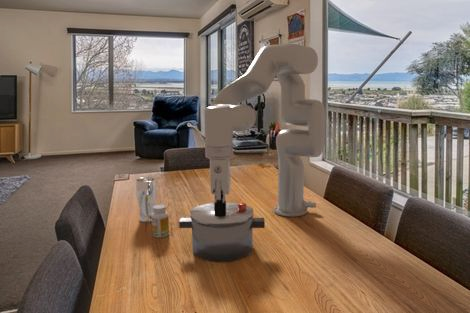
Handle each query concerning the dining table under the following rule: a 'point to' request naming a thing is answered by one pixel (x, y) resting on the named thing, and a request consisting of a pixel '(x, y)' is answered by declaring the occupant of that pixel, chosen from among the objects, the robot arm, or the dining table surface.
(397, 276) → the dining table surface
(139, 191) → the beer glass
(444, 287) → the dining table surface
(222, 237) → the cooking pot
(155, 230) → the supplement bottle
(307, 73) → the robot arm
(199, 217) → the cooker lid
